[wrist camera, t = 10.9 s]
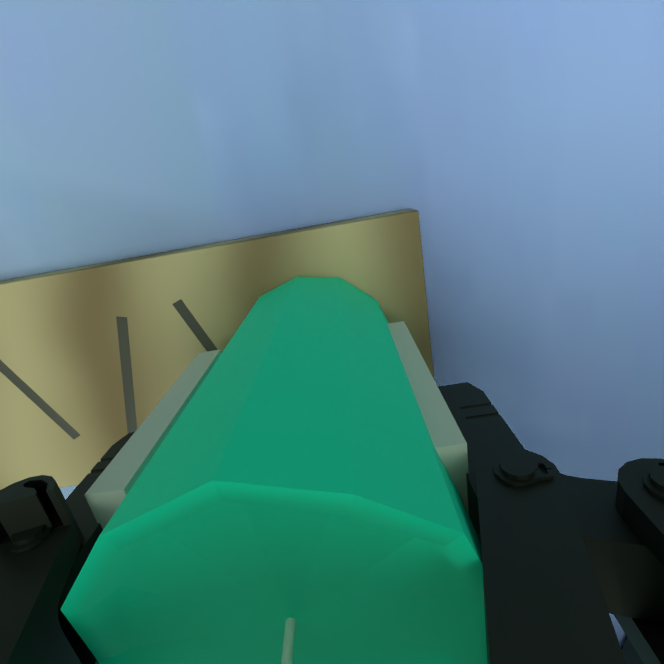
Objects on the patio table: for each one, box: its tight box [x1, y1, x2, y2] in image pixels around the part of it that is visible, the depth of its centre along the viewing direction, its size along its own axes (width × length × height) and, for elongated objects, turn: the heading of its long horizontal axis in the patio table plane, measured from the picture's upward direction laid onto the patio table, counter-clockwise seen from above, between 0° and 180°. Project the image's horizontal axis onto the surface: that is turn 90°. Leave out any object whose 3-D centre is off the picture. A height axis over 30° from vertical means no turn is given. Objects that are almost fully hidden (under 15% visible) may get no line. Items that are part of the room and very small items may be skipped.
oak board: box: [0, 209, 434, 490], centre depth 16 cm, size 24×9×2 cm, turn 100°
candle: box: [60, 277, 488, 664], centre depth 10 cm, size 6×6×12 cm
